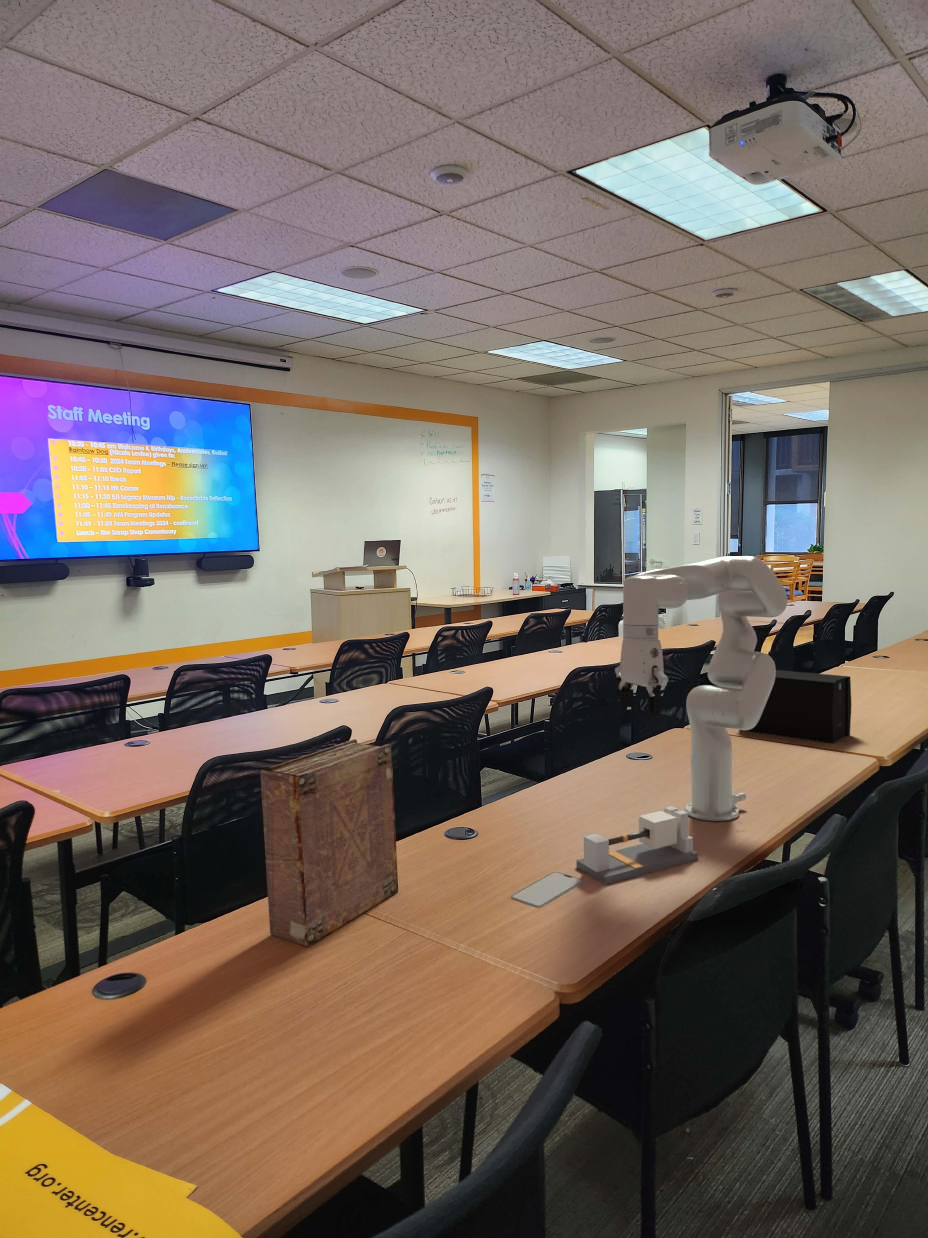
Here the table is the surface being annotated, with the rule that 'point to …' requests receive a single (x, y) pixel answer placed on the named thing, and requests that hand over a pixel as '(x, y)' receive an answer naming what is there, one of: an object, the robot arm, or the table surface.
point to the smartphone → (547, 889)
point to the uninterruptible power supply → (807, 707)
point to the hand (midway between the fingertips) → (640, 710)
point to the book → (328, 839)
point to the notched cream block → (658, 829)
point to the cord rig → (636, 853)
